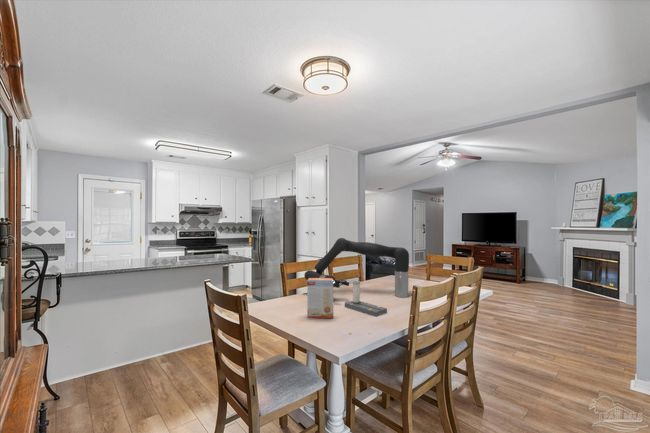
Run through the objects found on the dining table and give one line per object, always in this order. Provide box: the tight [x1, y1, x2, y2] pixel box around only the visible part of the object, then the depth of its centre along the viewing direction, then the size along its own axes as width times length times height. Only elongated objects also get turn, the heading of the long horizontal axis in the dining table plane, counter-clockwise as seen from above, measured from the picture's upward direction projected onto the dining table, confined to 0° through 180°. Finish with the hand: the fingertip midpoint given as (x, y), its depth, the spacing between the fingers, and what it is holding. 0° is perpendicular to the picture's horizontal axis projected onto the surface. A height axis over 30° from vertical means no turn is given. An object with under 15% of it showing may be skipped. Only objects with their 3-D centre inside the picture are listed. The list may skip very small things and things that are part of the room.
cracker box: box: [306, 278, 334, 319], centre depth 173 cm, size 14×6×21 cm, turn 84°
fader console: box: [344, 300, 388, 317], centre depth 186 cm, size 24×10×3 cm, turn 42°
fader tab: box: [351, 280, 362, 304], centre depth 191 cm, size 4×4×13 cm
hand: (344, 285), depth 198 cm, fingers open, 8 cm apart
